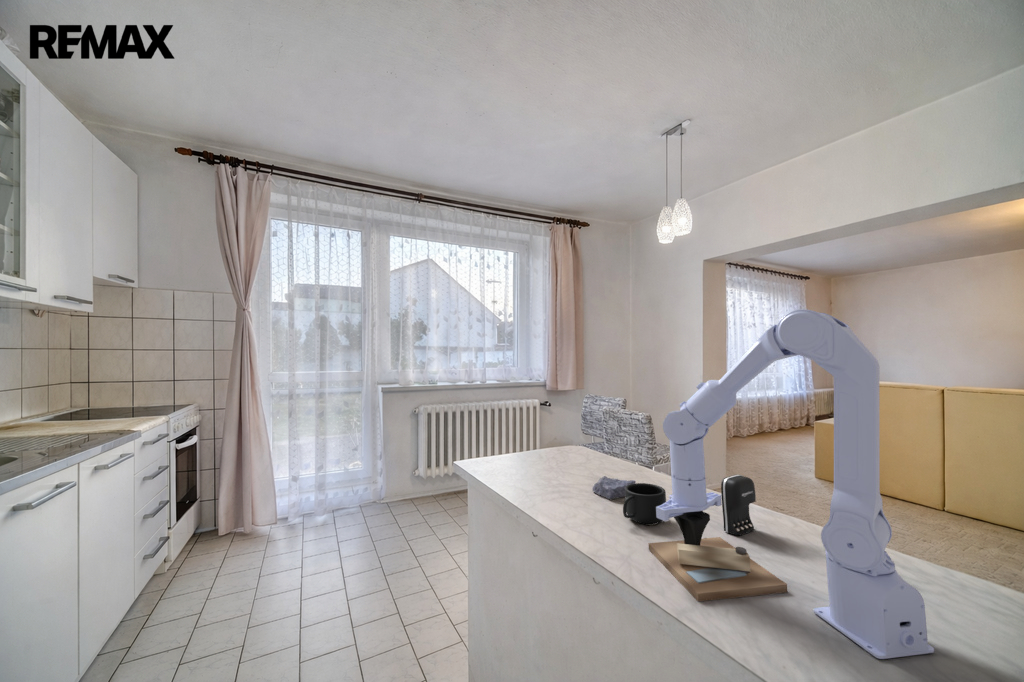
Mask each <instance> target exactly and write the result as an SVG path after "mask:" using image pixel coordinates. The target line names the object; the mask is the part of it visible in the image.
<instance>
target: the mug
mask: <svg viewBox="0 0 1024 682" xmlns="http://www.w3.org/2000/svg"><path fill="white" fill-rule="evenodd" d="M666 493H667V492H666V489H665V488H663V486H660V485H657V484H653V483H643V482H640V483H639V482H637V483H636V482H635V484H630V485H628V486H626V487H625V497H624V501H623V505H622V512H623V516H624V518H625V519H630V520H632V521H635V522H636V523H639V524H641V525H646V524H647V525H648V526H649V525H652V524H653V525H656V524H659V523H662V522H664V521H663V520H661V519H658V518H657V517H656V507H657V506H660V505H662V504H664V503H665V502H667V494H666Z"/></svg>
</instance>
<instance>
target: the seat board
mask: <svg viewBox="0 0 1024 682" xmlns="http://www.w3.org/2000/svg"><path fill="white" fill-rule="evenodd" d="M677 543H679V544H685V543H684V539H682V540H671V541H659V542H649V543H648V550H649V552H651V553H652V555H653V556H654V557H656V559H657V560H658V561H659V562H660V563H661V564H662V565H663V566H664V568H666V570H667V571H669V573H671V575H672V576H674V578H675V579H676V580H677V581H678V582H679V583H680V584H681V585H682V586H683V587H684V588H685V589H686V591H688V592H689V594H690V595H691V596H693V598H695V600H696V601H697V602H706V601H716V600H717V601H718V600H725V599H733V598H734V599H735V598H745V597H753V596H754V597H755V596H764V595H775V594H782V593H783V594H785V593H788V591H789V590H788V584H787V583H786V582H784V581H783V580H782V579H780V578H779V577H777V576H776V575H775V574H773V573H772V572H770V571H769V570H767V569H766V568H765V567H763V566H761V564H760V563H757V561H755V560H754V559H752V558H750V570H751V572H750V571H741V570H732V569H723V568H714V567H705V566H696V565H687V564H679V561H678V553H677ZM700 546H710V547H720V548H730V549H736V546H733V545H732V544H731V543H729V542H728V541H726V540H724V538H722V537H721V536H719V537H718V536H717V537H707V538H701V542H700Z"/></svg>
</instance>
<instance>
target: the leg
mask: <svg viewBox="0 0 1024 682" xmlns="http://www.w3.org/2000/svg"><path fill="white" fill-rule="evenodd" d="M735 548H736V549H730V548H720V547H710V546H699V545H689V544H679V543H677V553H678V561H679V564H687V565H696V566H705V567H714V568H723V569H732V570H741V571H750V572H751V570H750V559H751V557H750V555H749V553H748V552H747V549H746V548H745V547H742V546H735Z"/></svg>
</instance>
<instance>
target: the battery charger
mask: <svg viewBox="0 0 1024 682" xmlns="http://www.w3.org/2000/svg"><path fill="white" fill-rule="evenodd" d="M720 485H721V486H720V489H721V490H720V492H721V494H720V495H721V508H722V517H723V521H722V522H723V531H724V532H725V533H727V534H731V535H733V536H734V535H735V536H742V535H745V534H749V533H750V532H753V531H754V530H755V525H754V524H753V522H752V520H751V515H750V504H754V503H755V502H757V500H756V498H757V497H756V488H755V483H754V481H753V480H752V479H751V478H750V477H748V476H744V475H742V474H734V475H730V476H726V477H723V479H722V480H721V484H720Z"/></svg>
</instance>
